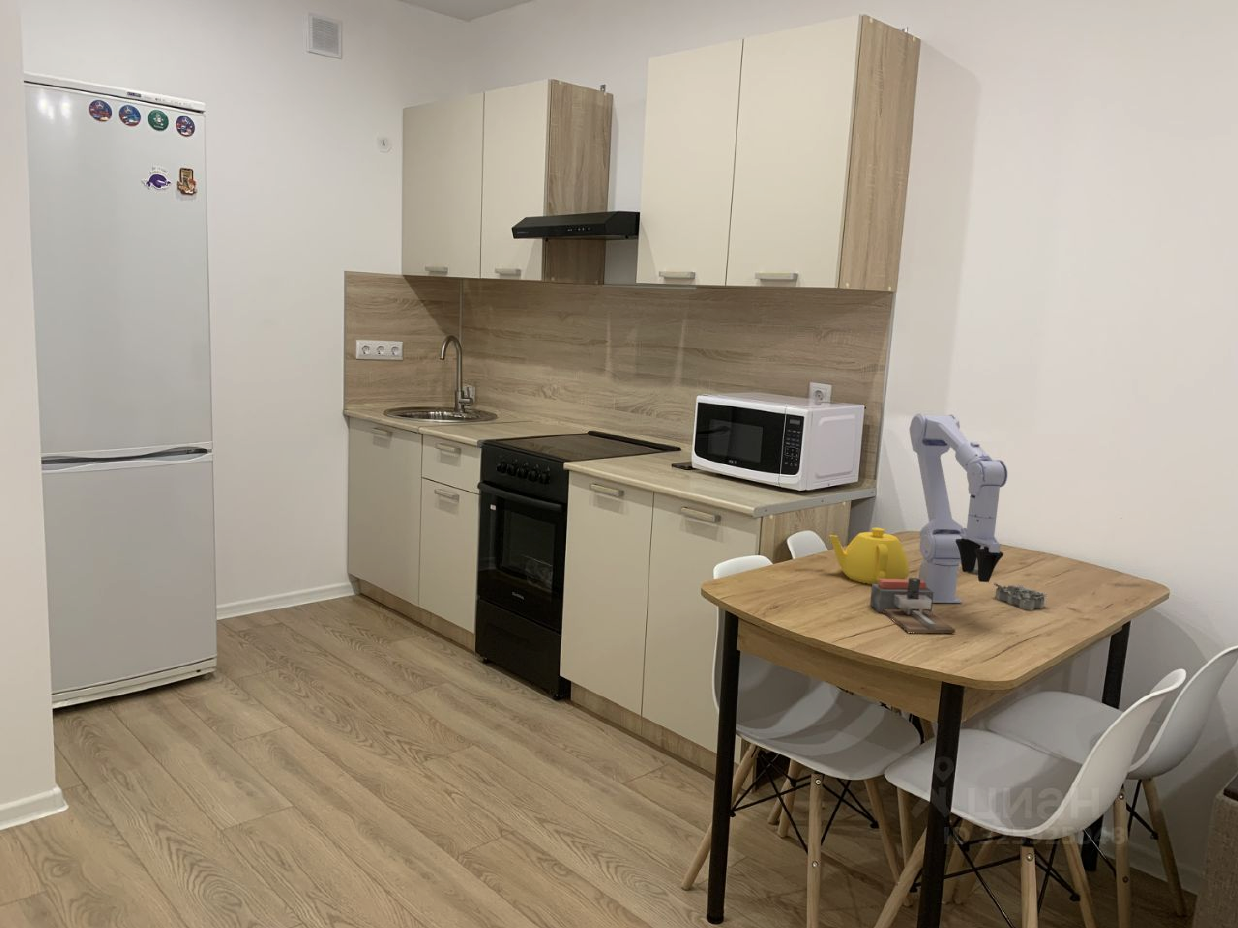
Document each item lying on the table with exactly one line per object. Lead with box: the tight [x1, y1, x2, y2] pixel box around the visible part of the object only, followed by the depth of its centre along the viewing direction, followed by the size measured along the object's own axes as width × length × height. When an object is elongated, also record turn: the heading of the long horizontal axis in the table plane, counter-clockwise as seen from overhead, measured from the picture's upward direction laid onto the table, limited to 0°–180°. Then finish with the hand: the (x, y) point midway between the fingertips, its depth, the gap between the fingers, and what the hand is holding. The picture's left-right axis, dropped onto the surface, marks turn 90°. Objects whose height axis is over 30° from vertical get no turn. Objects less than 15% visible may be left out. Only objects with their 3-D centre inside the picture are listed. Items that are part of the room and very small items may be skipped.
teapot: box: [829, 526, 910, 585], centre depth 235 cm, size 20×19×13 cm
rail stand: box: [869, 584, 956, 634], centre depth 204 cm, size 19×12×5 cm, turn 6°
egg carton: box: [993, 582, 1049, 611], centre depth 221 cm, size 11×8×4 cm
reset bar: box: [878, 578, 926, 589], centre depth 211 cm, size 2×10×2 cm, turn 96°
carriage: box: [893, 577, 932, 614], centre depth 205 cm, size 4×7×7 cm, turn 96°
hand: (975, 576), depth 206 cm, fingers open, 7 cm apart
